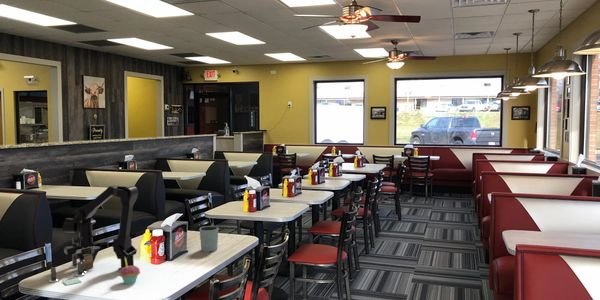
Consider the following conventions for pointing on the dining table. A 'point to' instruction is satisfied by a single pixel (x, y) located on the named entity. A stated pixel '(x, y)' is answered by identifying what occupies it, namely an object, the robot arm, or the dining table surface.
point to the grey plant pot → (209, 238)
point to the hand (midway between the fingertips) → (87, 264)
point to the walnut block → (88, 261)
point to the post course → (78, 265)
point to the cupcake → (129, 273)
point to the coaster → (71, 281)
